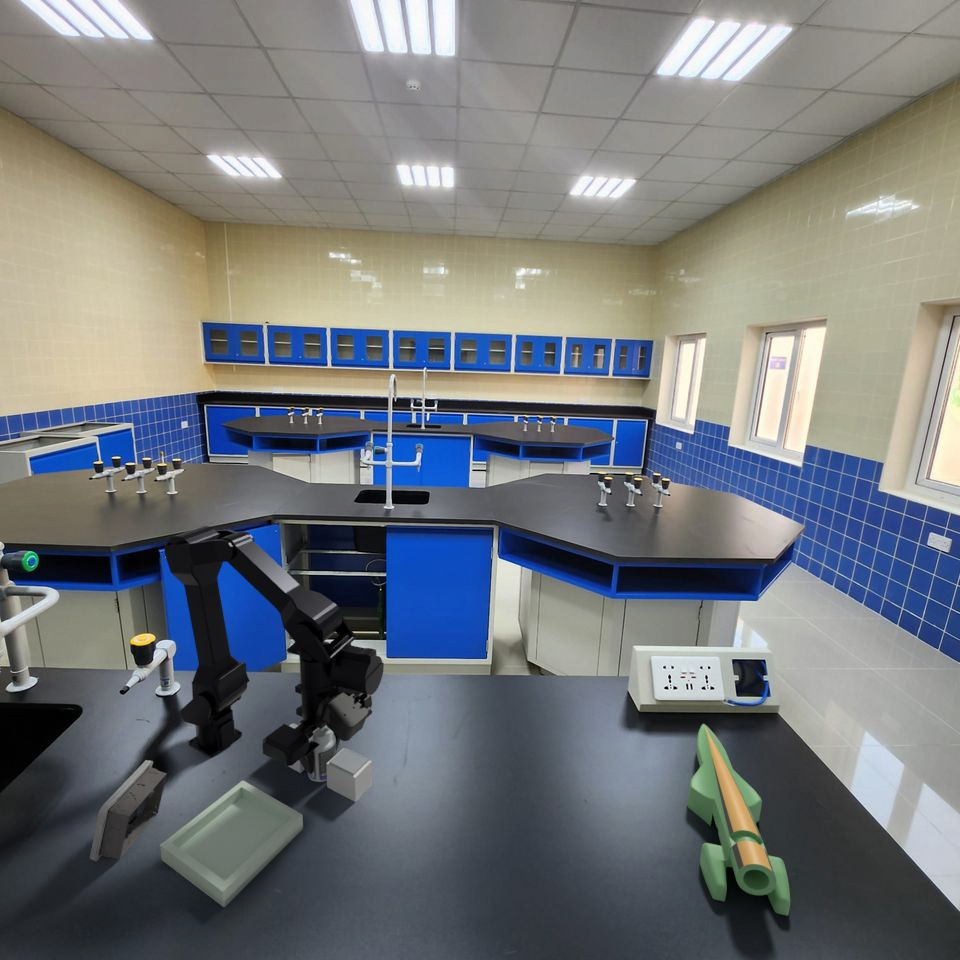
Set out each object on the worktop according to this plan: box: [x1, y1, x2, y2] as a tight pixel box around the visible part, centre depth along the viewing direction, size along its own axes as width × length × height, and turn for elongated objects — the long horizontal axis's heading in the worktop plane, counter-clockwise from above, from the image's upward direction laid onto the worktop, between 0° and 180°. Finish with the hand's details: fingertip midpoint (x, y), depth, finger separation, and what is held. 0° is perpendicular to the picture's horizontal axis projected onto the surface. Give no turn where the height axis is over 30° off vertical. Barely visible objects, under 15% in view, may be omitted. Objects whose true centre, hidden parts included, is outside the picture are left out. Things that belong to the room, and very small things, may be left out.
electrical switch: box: [89, 759, 168, 862], centre depth 73 cm, size 9×5×9 cm, turn 176°
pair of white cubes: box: [287, 723, 373, 803], centre depth 86 cm, size 18×4×5 cm, turn 62°
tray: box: [159, 780, 304, 908], centre depth 73 cm, size 13×13×2 cm
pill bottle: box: [307, 726, 337, 783], centre depth 86 cm, size 5×5×8 cm
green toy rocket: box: [686, 723, 791, 917], centre depth 81 cm, size 32×10×7 cm, turn 168°
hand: (321, 761), depth 86 cm, fingers open, 5 cm apart
